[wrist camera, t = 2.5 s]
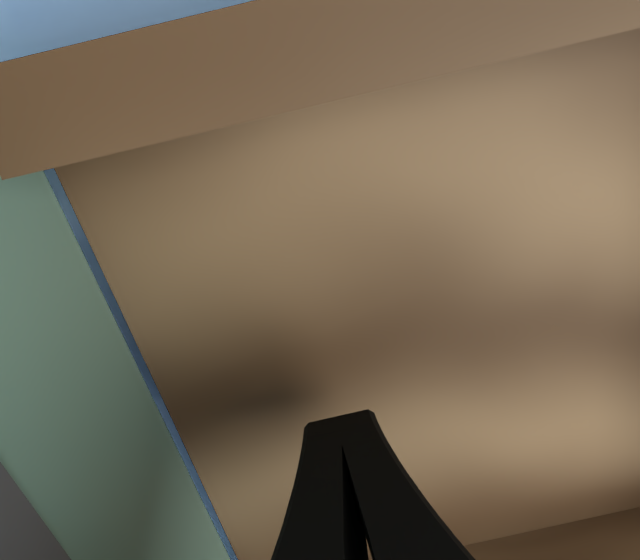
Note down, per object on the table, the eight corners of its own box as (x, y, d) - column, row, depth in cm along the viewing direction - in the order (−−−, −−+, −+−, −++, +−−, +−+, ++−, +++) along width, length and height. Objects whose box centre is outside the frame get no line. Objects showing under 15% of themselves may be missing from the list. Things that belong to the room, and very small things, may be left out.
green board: (271, 637, 15) (270, 888, 11) (234, 645, 15) (217, 899, 11) (-16, 33, 7) (-462, 22, 3) (-92, 52, 7) (-648, 68, 3)
